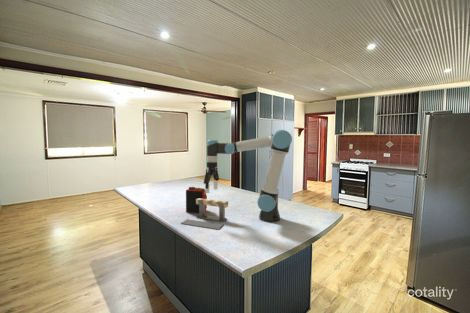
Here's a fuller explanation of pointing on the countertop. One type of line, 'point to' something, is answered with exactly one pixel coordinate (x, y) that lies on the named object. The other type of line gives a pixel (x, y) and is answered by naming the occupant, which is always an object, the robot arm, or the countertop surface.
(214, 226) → the mat
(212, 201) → the rail
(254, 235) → the countertop surface
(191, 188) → the red coffee machine
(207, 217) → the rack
